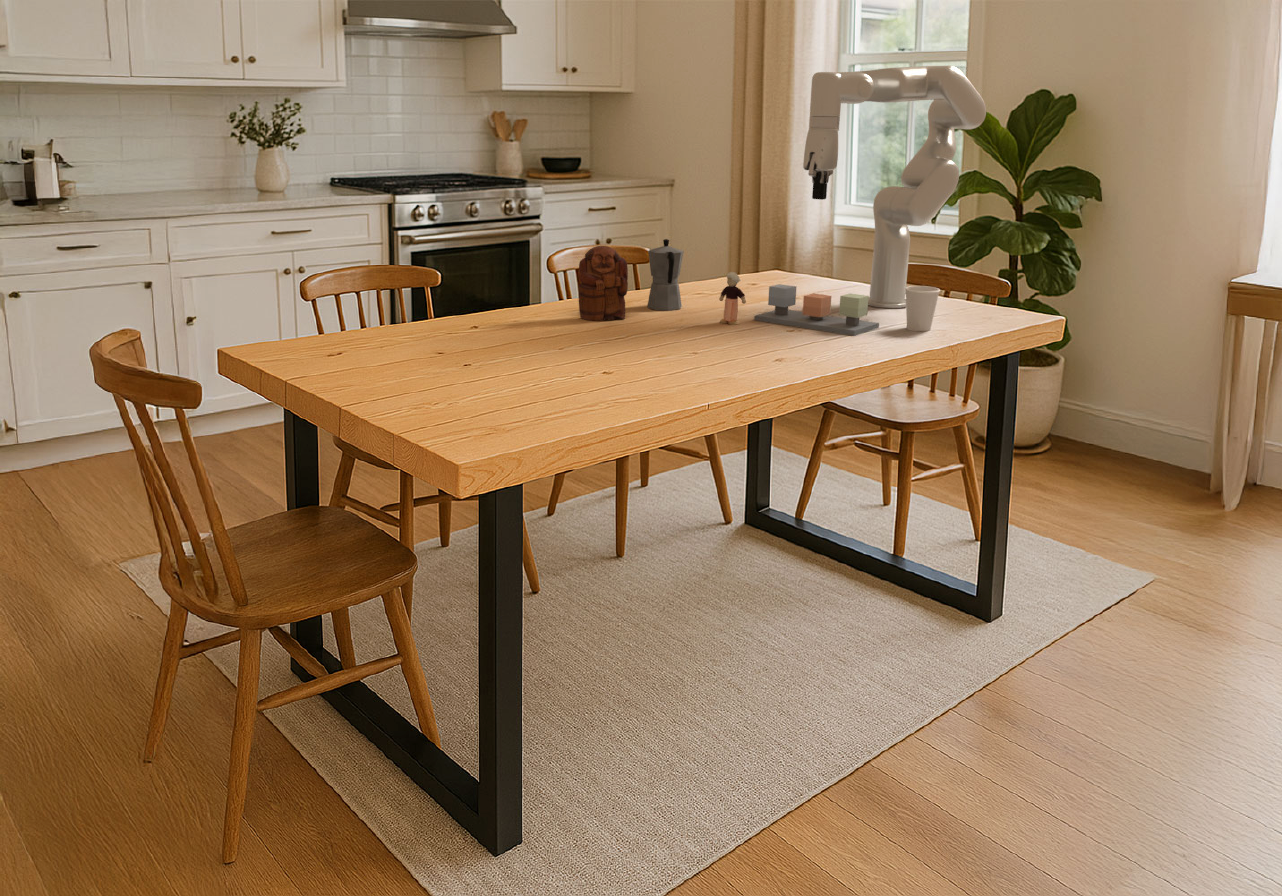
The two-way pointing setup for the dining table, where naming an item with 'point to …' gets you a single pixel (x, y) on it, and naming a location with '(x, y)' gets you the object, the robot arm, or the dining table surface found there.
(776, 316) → the button board
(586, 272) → the wooden figurine
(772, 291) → the button slate
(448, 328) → the dining table surface
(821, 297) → the button terracotta
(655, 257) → the coffeepot
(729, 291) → the grandmother figurine
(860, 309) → the button sage
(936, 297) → the dixie cup
